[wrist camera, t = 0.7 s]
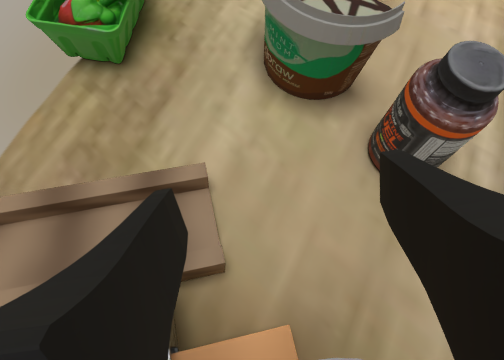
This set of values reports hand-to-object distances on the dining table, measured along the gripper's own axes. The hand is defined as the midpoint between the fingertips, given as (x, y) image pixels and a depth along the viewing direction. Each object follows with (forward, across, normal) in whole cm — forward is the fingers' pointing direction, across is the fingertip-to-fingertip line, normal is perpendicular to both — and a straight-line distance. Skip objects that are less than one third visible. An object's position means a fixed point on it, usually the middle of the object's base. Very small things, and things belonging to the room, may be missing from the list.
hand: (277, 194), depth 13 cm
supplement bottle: (+18, -10, +10) cm, 23 cm away
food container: (+25, -3, +4) cm, 25 cm away
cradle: (+10, +15, +8) cm, 20 cm away
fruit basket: (+28, +14, -4) cm, 32 cm away
